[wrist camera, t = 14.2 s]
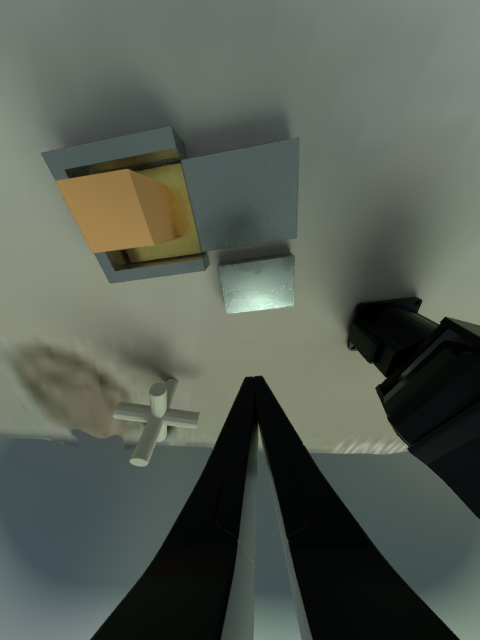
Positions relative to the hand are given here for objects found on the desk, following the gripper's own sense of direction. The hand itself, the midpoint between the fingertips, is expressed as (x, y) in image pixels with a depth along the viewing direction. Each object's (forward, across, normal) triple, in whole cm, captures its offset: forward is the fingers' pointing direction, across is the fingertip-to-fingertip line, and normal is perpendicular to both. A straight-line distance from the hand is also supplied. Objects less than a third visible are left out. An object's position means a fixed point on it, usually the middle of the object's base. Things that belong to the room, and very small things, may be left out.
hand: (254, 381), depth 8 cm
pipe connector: (+12, +13, +13) cm, 22 cm away
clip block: (+9, +6, -8) cm, 14 cm away
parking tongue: (+12, -1, -1) cm, 12 cm away
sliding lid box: (+12, +4, -8) cm, 15 cm away
